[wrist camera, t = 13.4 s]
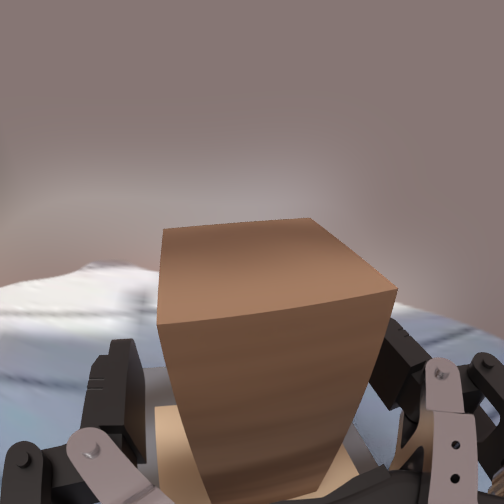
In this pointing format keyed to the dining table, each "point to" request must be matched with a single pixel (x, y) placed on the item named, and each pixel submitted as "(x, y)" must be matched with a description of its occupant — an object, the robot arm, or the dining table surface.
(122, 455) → the robot arm
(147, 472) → the plinth
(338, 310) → the pillar
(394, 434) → the dining table surface
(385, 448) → the dining table surface
